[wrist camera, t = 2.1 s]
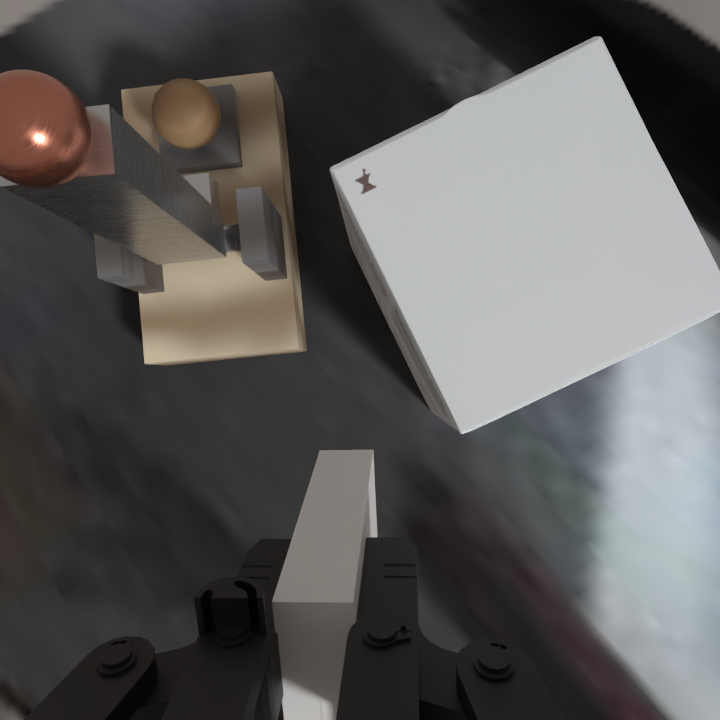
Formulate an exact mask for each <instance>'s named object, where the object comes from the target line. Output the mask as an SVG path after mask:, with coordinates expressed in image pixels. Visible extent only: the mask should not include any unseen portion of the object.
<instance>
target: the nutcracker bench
mask: <svg viewBox="0 0 720 720" xmlns="http://www.w3.org/2000/svg"><path fill="white" fill-rule="evenodd" d="M121 95H122V107H123V118H124V120H125V121H126V122H127V123H128V124H129V125H131V126H132V127H133V128H134V129H135V130H136V131H137V132H138V133H139V134H140V135H141V136H142V137H143V138H144V139H145V140H146V141H147V142H148V143H149V144H150V145H151V146H152V147H153V148H154V149H155V150H156V151H157V152H158V153H159V154H160V155H161V156H162V157H163V158H164V159H165V160H166V161H167V162H168V163H169V164H170V165H171V166H172V167H173V168H174V169H175V170H176V171H177V172H178V173H180V174H181V175H182V176H185V175H193V174H202V173H209V174H210V175H211V176H212V177H213V179H214V180H215V181H216V182H217V183H218V189H219V200H220V211H221V215H222V216H223V223H224V225H226V224H235V223H239V231H240V242H241V251H238V252H229V253H226V256H227V257H226V258H217V259H207V260H198V261H189V262H180V263H171V264H161V265H157V264H155V263H153V262H151V261H146V262H144V261H143V260H142V259H141V257H140V256H139V255H137V254H135V253H133V252H131V251H129V250H127V249H125V248H123V247H121V246H119V245H117V244H115V243H113V242H111V241H109V240H107V239H105V238H103V237H101V236H99V235H97V234H95V233H94V241H95V253H96V265H97V276H98V278H99V279H102V280H105V281H108V282H110V283H113V284H116V285H119V286H122V287H125V288H128V289H130V290H133V291H136V292H139V303H140V315H141V327H142V338H143V350H144V361H145V364H154V365H175V364H185V363H194V362H204V361H214V360H224V359H234V358H244V357H254V356H264V355H273V354H283V353H293V352H303V351H307V347H306V336H305V326H304V316H303V305H302V295H301V284H300V274H299V263H298V253H297V242H296V232H295V222H294V211H293V201H292V190H291V180H290V169H289V159H288V148H287V138H286V128H285V117H284V107H283V98H282V95H281V93H280V90H279V87H278V85H277V82H276V80H275V77H274V74H273V72H272V71H271V72H262V73H254V74H246V75H238V76H229V77H221V78H213V79H205V80H196V81H195V80H192V79H188V78H178V79H174V80H171V81H169V82H167V83H165V84H163V85H155V86H147V87H139V88H130V89H122V90H121Z"/></svg>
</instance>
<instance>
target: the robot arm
mask: <svg viewBox="0 0 720 720" xmlns="http://www.w3.org/2000/svg"><path fill="white" fill-rule="evenodd" d="M194 602H195V609H196V615H197V622H198V629H199V636H198V638H197V640H196V642H195V643H193V644H191V645H189V646H186V647H183V648H179V649H175V650H171V651H167V652H162V653H158V654H155V650H154V647H153V646H152V644H151V643H150V642H149V641H148V640H145V639H143V638H141V637H129V636H126V637H122V638H117V639H113V640H111V641H108V642H106V643H104V644H102V645H100V646H98V647H97V648H96V649H94V650H93V651H92V652H90V653H89V654H88V655H87V656H86V657H85V658H84V659H83V660H82V661H81V662H80V663H79V664H78V665H77V666H76V667H75V668H74V669H73V670H72V671H71V672H70V673H69V674H68V675H67V676H66V677H65V678H64V679H63V680H62V681H61V682H60V683H59V684H58V685H57V686H56V687H55V688H54V689H53V690H52V692H51V693H50V694H49V695H48V696H47V697H46V698H45V699H44V700H43V701H42V702H41V703H40V704H39V705H38V706H37V707H36V708H35V709H34V710H33V711H32V712H31V713H30V714H29V715H28V716H27V717H26V718H25V719H24V720H278V715H279V711H280V707H281V703H282V705H283V715H284V720H565V719H564V717H563V715H562V713H561V712H560V710H559V708H558V706H557V705H556V703H555V701H554V700H553V698H552V696H551V694H550V693H549V691H548V689H547V687H546V686H545V684H544V682H543V680H542V679H541V677H540V675H539V673H538V672H537V670H536V668H535V666H534V665H533V663H532V661H531V659H530V658H529V657H528V656H527V655H526V654H525V653H524V651H523V650H522V649H520V648H518V647H517V646H515V645H513V644H511V643H510V642H506V641H502V640H498V639H480V640H477V641H474V642H471V643H469V644H467V645H466V646H465V647H464V648H463V649H461V650H460V652H459V653H456V652H452V651H448V650H446V649H443V648H440V647H438V646H436V645H435V644H433V643H431V642H430V641H429V640H428V639H427V638H426V637H425V636H424V635H423V633H422V632H421V630H420V628H419V602H418V565H417V549H416V548H415V546H414V545H413V544H412V542H411V541H410V539H409V538H408V537H377V520H376V499H375V478H374V457H373V450H320V452H319V455H318V458H317V461H316V464H315V468H314V471H313V474H312V477H311V480H310V483H309V486H308V490H307V493H306V496H305V499H304V502H303V505H302V508H301V512H300V515H299V518H298V521H297V524H296V527H295V531H294V534H293V537H292V539H261V540H260V541H259V542H258V543H257V544H255V545H254V546H253V547H252V548H251V549H250V550H249V551H248V552H247V555H246V557H245V559H244V562H243V564H242V568H241V569H240V571H239V574H238V576H235V577H226V578H222V579H219V580H216V581H213V582H211V583H209V584H208V585H206V586H205V587H203V588H202V589H200V591H199V592H198V593H197V594H196V596H195V597H194Z"/></svg>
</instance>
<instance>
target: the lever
mask: <svg viewBox="0 0 720 720" xmlns="http://www.w3.org/2000/svg"><path fill="white" fill-rule="evenodd" d="M0 185H1V187H3V188H5V189H7V190H9V191H11V192H13V193H15V194H17V195H19V196H21V197H23V198H25V199H27V200H29V201H31V202H33V203H35V204H37V205H39V206H41V207H43V208H45V209H47V210H49V211H51V212H53V213H55V214H57V215H59V216H61V217H63V218H65V219H67V220H69V221H71V222H73V223H75V224H77V225H79V226H81V227H83V228H85V229H87V230H89V231H91V232H93V233H95V234H97V235H99V236H101V237H103V238H105V239H107V240H109V241H111V242H113V243H115V244H117V245H119V246H121V247H123V248H125V249H127V250H129V251H131V252H133V253H135V254H137V255H139V256H140V257H141V259H142V260H143V261H144V262H146V261H151V262H153V263H155V264H157V265H161V264H171V263H180V262H189V261H198V260H207V259H217V258H226V257H227V256H226V253H229V252H238V251H241V242H240V231H239V223H235V224H226V225H224V223H223V216H222V215H221V211H220V200H219V189H218V183H217V182H216V181H215V180H214V179H213V177H212V176H211V175H210V174H209V173H202V174H193V175H185V176H182V175H181V174H180V173H178V172H177V171H176V170H175V169H174V168H173V167H172V166H171V165H170V164H169V163H168V162H167V161H166V160H165V159H164V158H163V157H162V156H161V155H160V154H159V153H158V152H157V151H156V150H155V149H154V148H153V147H152V146H151V145H150V144H149V143H148V142H147V141H146V140H145V139H144V138H143V137H142V136H141V135H140V134H139V133H138V132H137V131H136V130H135V129H134V128H133V127H132V126H131V125H129V124H128V123H127V122H126V121H125V120H124V119H123V118H122V117H121V116H120V115H119V114H118V113H117V112H116V111H115V110H114V109H113V108H112V107H111V106H110V105H109V104H106V105H98V106H89V107H85V106H84V104H83V103H82V101H81V100H80V99H79V97H78V96H77V95H76V94H75V93H74V92H73V91H72V90H71V89H70V88H69V87H68V86H66V85H65V84H64V83H62V82H61V81H59V80H58V79H56V78H54V77H52V76H50V75H47V74H44V73H41V72H37V71H33V70H11V71H6V72H3V73H0Z"/></svg>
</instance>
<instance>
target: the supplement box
mask: <svg viewBox="0 0 720 720" xmlns="http://www.w3.org/2000/svg"><path fill="white" fill-rule="evenodd" d="M329 170H330V173H331V177H332V180H333V183H334V186H335V190H336V193H337V196H338V200H339V204H340V207H341V211H342V215H343V219H344V222H345V226H346V230H347V233H348V238H349V241H350V245H351V248H352V250H353V252H354V254H355V256H356V259H357V261H358V263H359V265H360V267H361V269H362V271H363V273H364V275H365V277H366V279H367V281H368V283H369V286H370V288H371V290H372V292H373V294H374V296H375V298H376V300H377V302H378V304H379V306H380V308H381V310H382V312H383V314H384V317H385V319H386V321H387V323H388V325H389V327H390V329H391V331H392V333H393V335H394V337H395V339H396V342H397V344H398V346H399V348H400V350H401V352H402V354H403V356H404V358H405V360H406V362H407V364H408V366H409V368H410V371H411V373H412V375H413V377H414V379H415V381H416V383H417V385H418V387H419V389H420V391H421V393H422V395H423V397H424V399H425V401H426V402H427V404H428V406H429V408H430V410H431V411H432V412H433V413H435V414H436V415H437V416H438V417H440V418H441V419H442V420H444V421H445V422H446V423H448V424H449V425H450V426H452V427H453V428H454V429H456V430H457V431H459V432H460V433H461V434H464V433H467V432H469V431H472V430H474V429H476V428H478V427H481V426H483V425H485V424H487V423H490V422H492V421H494V420H496V419H498V418H500V417H502V416H505V415H507V414H509V413H511V412H513V411H515V410H517V409H519V408H521V407H524V406H526V405H528V404H530V403H532V402H534V401H536V400H538V399H540V398H542V397H544V396H547V395H549V394H551V393H553V392H555V391H557V390H559V389H561V388H563V387H565V386H568V385H570V384H572V383H574V382H576V381H578V380H580V379H582V378H584V377H587V376H589V375H591V374H593V373H595V372H597V371H599V370H601V369H604V368H606V367H608V366H610V365H612V364H614V363H616V362H618V361H621V360H623V359H625V358H627V357H629V356H631V355H633V354H635V353H637V352H639V351H641V350H644V349H646V348H648V347H650V346H652V345H654V344H656V343H658V342H660V341H662V340H664V339H666V338H668V337H670V336H673V335H675V334H677V333H679V332H681V331H683V330H685V329H687V328H689V327H691V326H693V325H695V324H697V323H699V322H702V321H704V320H706V319H708V318H709V317H711V316H713V315H715V314H717V313H719V312H720V270H719V268H718V266H717V264H716V262H715V260H714V258H713V256H712V254H711V253H710V251H709V249H708V247H707V245H706V243H705V241H704V239H703V237H702V235H701V233H700V231H699V229H698V227H697V225H696V223H695V221H694V220H693V218H692V216H691V214H690V212H689V210H688V208H687V206H686V204H685V202H684V200H683V198H682V197H681V195H680V193H679V191H678V189H677V187H676V185H675V183H674V181H673V179H672V177H671V175H670V173H669V171H668V169H667V168H666V166H665V164H664V162H663V160H662V158H661V156H660V154H659V153H658V151H657V149H656V147H655V145H654V143H653V141H652V139H651V137H650V135H649V133H648V131H647V129H646V127H645V125H644V123H643V121H642V119H641V117H640V115H639V113H638V111H637V109H636V107H635V105H634V102H633V100H632V98H631V96H630V94H629V92H628V90H627V88H626V86H625V84H624V82H623V80H622V78H621V76H620V74H619V72H618V70H617V68H616V66H615V64H614V62H613V60H612V58H611V56H610V54H609V52H608V50H607V47H606V45H605V43H604V41H603V39H602V37H600V36H597V37H593V38H591V39H589V40H587V41H585V42H583V43H581V44H579V45H577V46H575V47H573V48H571V49H569V50H567V51H565V52H563V53H561V54H559V55H557V56H555V57H553V58H551V59H549V60H547V61H545V62H543V63H541V64H539V65H537V66H535V67H533V68H531V69H529V70H527V71H525V72H523V73H521V74H519V75H517V76H515V77H513V78H511V79H509V80H507V81H505V82H503V83H501V84H499V85H497V86H494V87H492V88H490V89H488V90H486V91H484V92H482V93H480V94H478V95H475V96H473V97H470V98H468V99H465V100H463V101H461V102H459V103H457V104H456V105H454V106H453V107H451V108H450V109H448V110H446V111H444V112H442V113H440V114H438V115H436V116H434V117H432V118H430V119H428V120H426V121H424V122H422V123H420V124H418V125H416V126H414V127H411V128H409V129H407V130H405V131H403V132H401V133H399V134H397V135H395V136H393V137H391V138H389V139H387V140H385V141H383V142H381V143H379V144H377V145H375V146H373V147H371V148H369V149H367V150H365V151H363V152H361V153H359V154H357V155H355V156H353V157H350V158H348V159H346V160H344V161H342V162H340V163H338V164H336V165H334V166H332V167H330V169H329Z"/></svg>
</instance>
